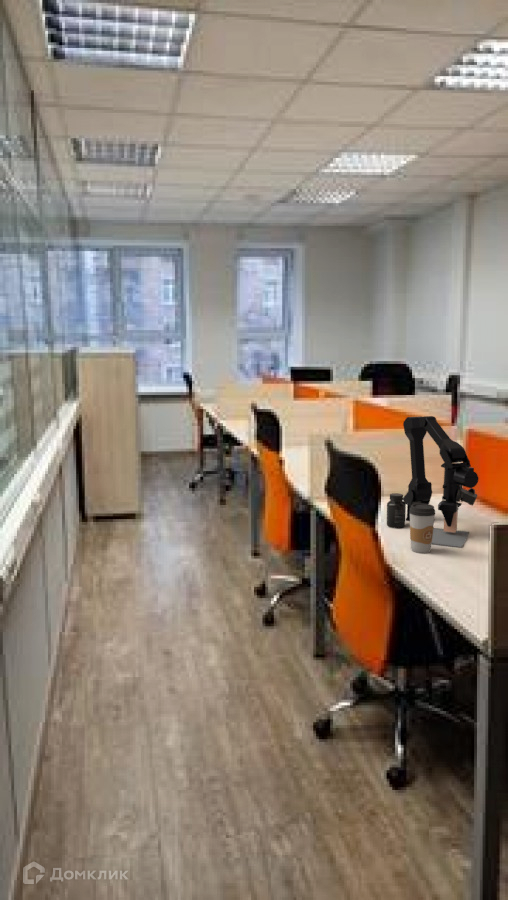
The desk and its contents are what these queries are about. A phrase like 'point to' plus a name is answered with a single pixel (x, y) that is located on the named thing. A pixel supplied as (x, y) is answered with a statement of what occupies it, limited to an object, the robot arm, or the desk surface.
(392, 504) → the supplement bottle
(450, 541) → the mat
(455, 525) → the block
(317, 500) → the desk surface
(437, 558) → the desk surface
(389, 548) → the desk surface
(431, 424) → the robot arm
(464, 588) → the desk surface
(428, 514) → the coffee cup
